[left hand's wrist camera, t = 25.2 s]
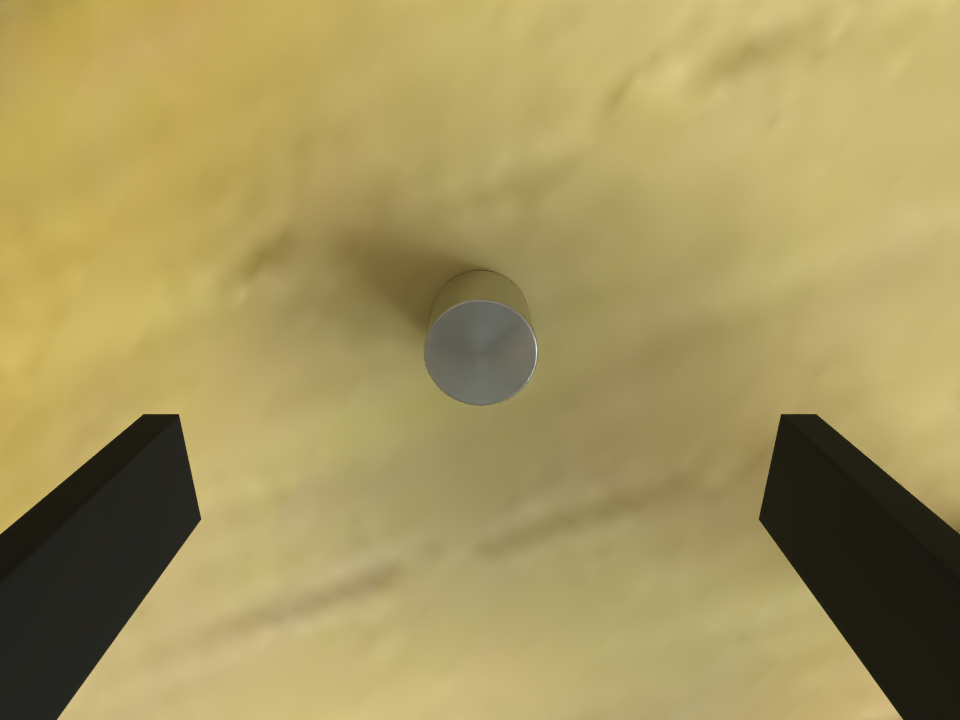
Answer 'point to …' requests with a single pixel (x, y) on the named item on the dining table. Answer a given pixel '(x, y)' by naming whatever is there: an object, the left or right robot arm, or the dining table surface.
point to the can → (480, 339)
